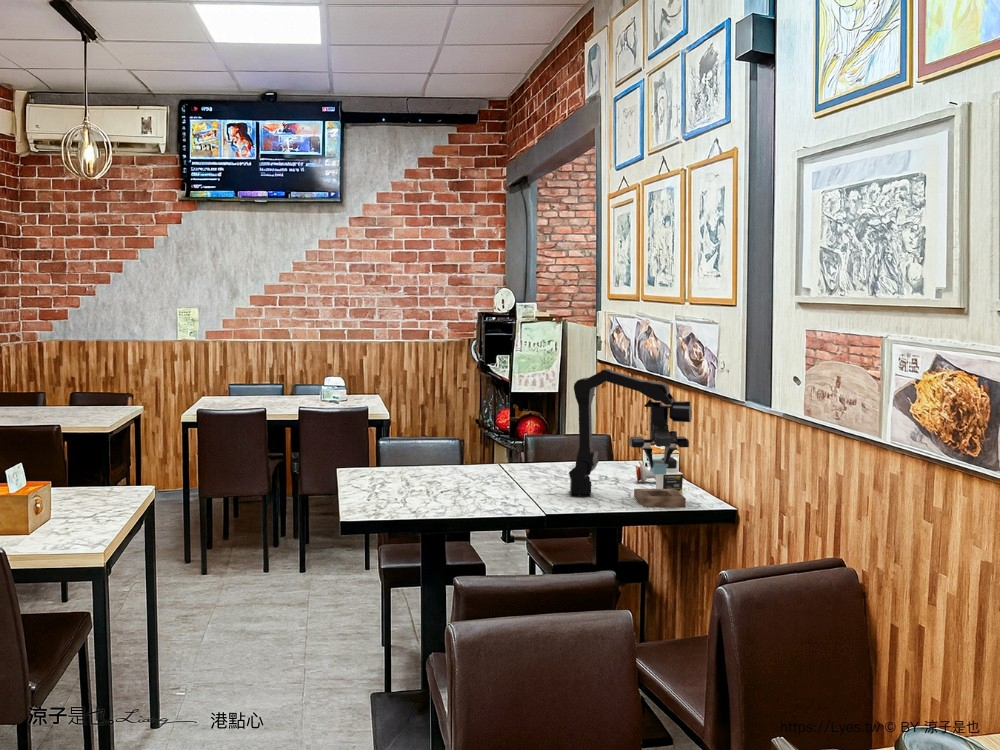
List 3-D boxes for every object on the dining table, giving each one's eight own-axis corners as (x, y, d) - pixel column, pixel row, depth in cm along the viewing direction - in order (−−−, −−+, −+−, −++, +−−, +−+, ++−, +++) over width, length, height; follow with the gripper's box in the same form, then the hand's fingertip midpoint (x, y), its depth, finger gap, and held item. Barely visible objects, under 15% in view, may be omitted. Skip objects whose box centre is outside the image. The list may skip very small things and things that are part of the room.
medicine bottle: (662, 494, 314) (664, 459, 313) (655, 489, 321) (656, 456, 320) (682, 493, 315) (683, 459, 314) (674, 489, 322) (675, 455, 321)
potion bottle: (680, 488, 330) (638, 491, 332) (676, 468, 337) (635, 472, 339) (679, 471, 324) (637, 474, 326) (676, 451, 331) (634, 454, 333)
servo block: (655, 475, 295) (655, 464, 295) (648, 469, 306) (648, 458, 305) (668, 475, 295) (668, 464, 295) (660, 469, 306) (660, 458, 306)
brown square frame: (642, 506, 294) (642, 498, 294) (633, 497, 308) (634, 488, 308) (685, 507, 295) (685, 498, 295) (675, 497, 309) (675, 489, 309)
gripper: (635, 424, 291) (634, 472, 292) (693, 424, 291) (692, 472, 293) (629, 419, 302) (628, 466, 303) (685, 419, 302) (684, 466, 304)
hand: (658, 468), depth 300 cm, fingers closed on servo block, 4 cm apart
